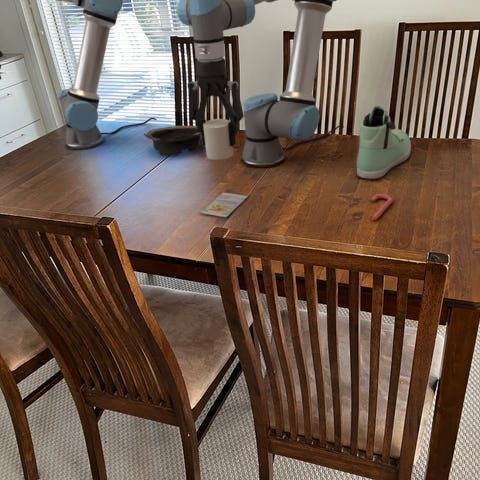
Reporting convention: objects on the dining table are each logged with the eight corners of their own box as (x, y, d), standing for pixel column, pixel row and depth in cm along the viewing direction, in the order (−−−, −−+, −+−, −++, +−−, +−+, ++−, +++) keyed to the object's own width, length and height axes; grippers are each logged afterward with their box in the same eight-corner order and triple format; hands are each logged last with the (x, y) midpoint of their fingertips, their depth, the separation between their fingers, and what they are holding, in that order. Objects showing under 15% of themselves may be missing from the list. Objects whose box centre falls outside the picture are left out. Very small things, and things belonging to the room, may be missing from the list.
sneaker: (416, 146, 176) (423, 89, 165) (393, 183, 150) (400, 120, 140) (378, 142, 182) (383, 87, 171) (351, 177, 156) (354, 116, 146)
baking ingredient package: (199, 211, 142) (223, 191, 153) (199, 213, 142) (223, 192, 154) (226, 216, 138) (248, 195, 150) (226, 217, 139) (248, 196, 150)
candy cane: (355, 217, 134) (355, 212, 134) (376, 195, 144) (376, 191, 144) (376, 222, 131) (376, 217, 130) (395, 199, 141) (396, 195, 141)
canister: (202, 158, 135) (198, 126, 130) (213, 148, 141) (210, 118, 136) (226, 160, 132) (223, 128, 127) (237, 150, 138) (234, 119, 133)
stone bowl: (160, 165, 176) (155, 140, 172) (140, 150, 196) (135, 128, 192) (220, 149, 185) (217, 125, 181) (195, 136, 205) (192, 115, 201)
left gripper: (-89, 21, 150) (-62, 90, 161) (-3, 12, 158) (17, 78, 169) (-85, 19, 156) (-60, 85, 167) (-3, 10, 163) (16, 74, 175)
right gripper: (168, 62, 123) (180, 147, 134) (244, 61, 117) (250, 150, 129) (179, 56, 129) (190, 138, 141) (252, 55, 123) (257, 140, 135)
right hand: (218, 144), depth 135 cm, fingers closed on canister, 8 cm apart
